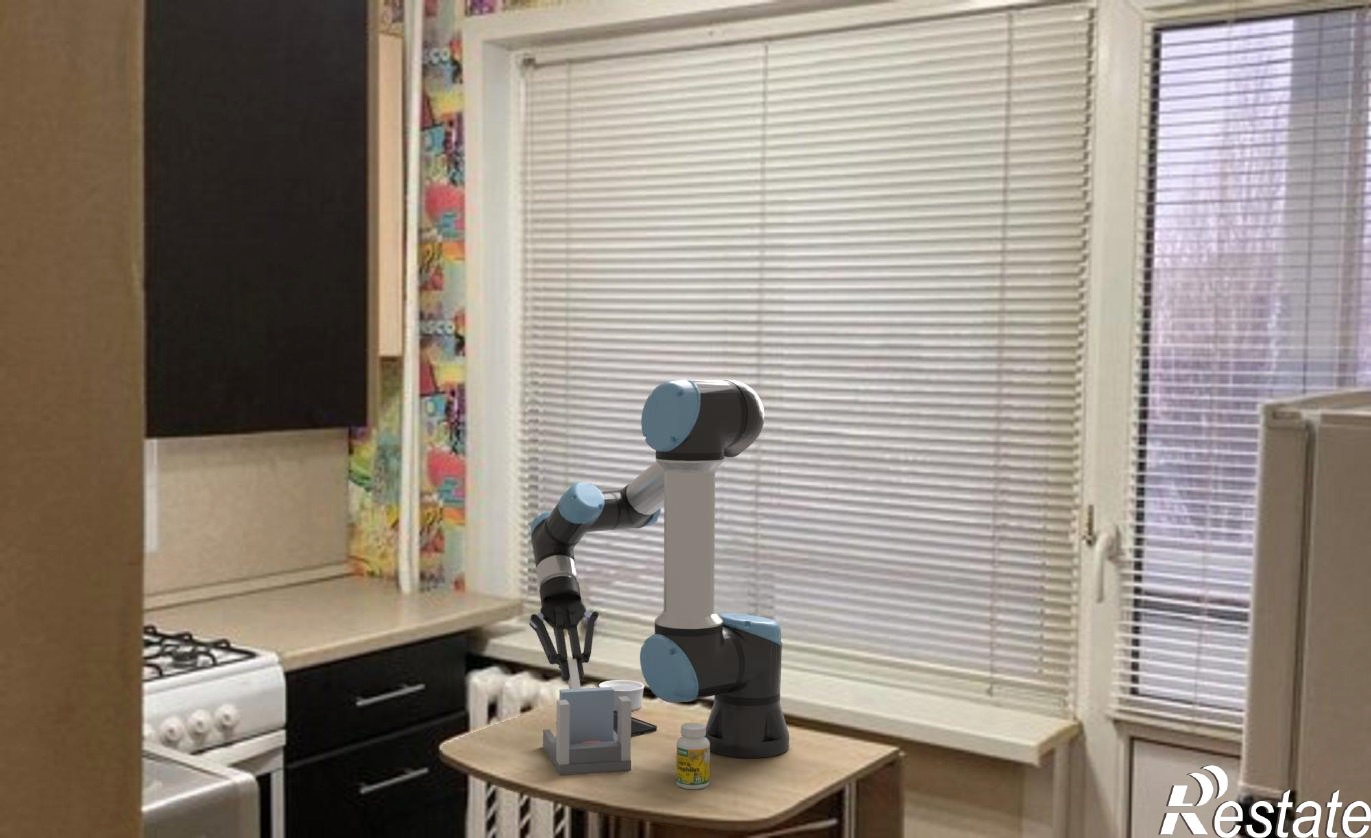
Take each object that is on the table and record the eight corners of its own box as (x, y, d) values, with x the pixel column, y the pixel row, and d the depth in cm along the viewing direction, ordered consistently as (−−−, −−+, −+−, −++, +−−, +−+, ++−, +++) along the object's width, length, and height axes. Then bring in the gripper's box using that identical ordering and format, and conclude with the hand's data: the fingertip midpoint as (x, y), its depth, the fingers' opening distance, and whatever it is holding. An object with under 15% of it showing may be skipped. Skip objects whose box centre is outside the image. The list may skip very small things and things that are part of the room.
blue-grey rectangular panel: (558, 747, 233) (559, 689, 233) (610, 744, 236) (611, 686, 235) (560, 750, 231) (561, 692, 231) (613, 747, 234) (613, 689, 233)
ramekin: (602, 699, 272) (602, 678, 272) (646, 701, 271) (647, 680, 271) (595, 711, 263) (595, 689, 263) (640, 713, 262) (641, 691, 262)
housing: (542, 746, 240) (543, 681, 239) (610, 742, 243) (610, 678, 242) (559, 774, 224) (560, 705, 224) (631, 769, 228) (632, 701, 227)
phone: (609, 709, 262) (659, 726, 251) (609, 714, 262) (659, 732, 251) (576, 715, 257) (625, 733, 246) (576, 721, 257) (625, 739, 246)
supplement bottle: (714, 781, 222) (715, 723, 222) (702, 791, 217) (703, 732, 217) (683, 777, 224) (684, 719, 224) (670, 787, 219) (671, 728, 219)
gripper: (589, 595, 262) (608, 703, 247) (522, 598, 258) (536, 708, 243) (595, 572, 256) (615, 681, 241) (526, 575, 253) (542, 685, 238)
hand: (575, 694), depth 242 cm, fingers closed
